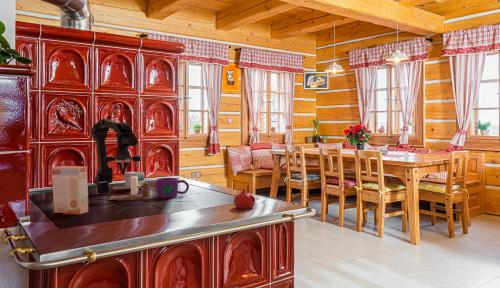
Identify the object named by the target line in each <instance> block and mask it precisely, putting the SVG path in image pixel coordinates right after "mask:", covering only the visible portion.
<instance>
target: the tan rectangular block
mask: <svg viewBox="0 0 500 288" xmlns="http://www.w3.org/2000/svg"><path fill="white" fill-rule="evenodd" d="M130 182H131V190H130V195H138V194H139V190H138V189H137V186H138V176H132V177H131V178H130Z"/></svg>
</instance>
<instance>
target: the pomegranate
mask: <svg viewBox="0 0 500 288" xmlns="http://www.w3.org/2000/svg"><path fill="white" fill-rule="evenodd" d="M235 193H236V194H237V193H238V194H237V195H236V194H235V196H234V198H233V203H234V206H235V208H237V209H240V210H250V209H253V207H255V204H256V198H255V196H254V195H253V192H252V191H249V190H247V191H246V188H245V187H243V188H242V191H235Z"/></svg>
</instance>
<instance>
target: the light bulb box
mask: <svg viewBox="0 0 500 288" xmlns="http://www.w3.org/2000/svg"><path fill="white" fill-rule="evenodd" d="M132 176H138V185H142V184H143V183H144V182H145V172H141V171H128V172H126V171H125V174H124V186H131V182H130V178H131V177H132ZM138 189H140V188H138Z"/></svg>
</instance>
